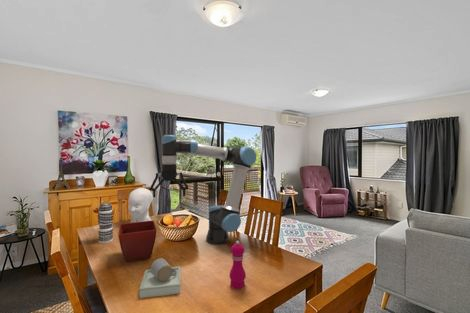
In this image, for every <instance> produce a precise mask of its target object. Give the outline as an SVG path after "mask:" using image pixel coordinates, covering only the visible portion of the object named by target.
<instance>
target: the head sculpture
mask: <svg viewBox="0 0 470 313" xmlns="http://www.w3.org/2000/svg"><path fill="white" fill-rule="evenodd" d="M153 201H154V197H153V191H151V190H149V189H148V188H145V187H138V188H135V189H133V190H132V191H131V192H130V193H129V195H128V213H129V215H130V218H131V220H130V222H129V223H135V222H144V221H153V220H152V218H151V217H150V213H149V209H150V206H151V204H152V203H153Z"/></svg>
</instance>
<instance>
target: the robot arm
mask: <svg viewBox="0 0 470 313" xmlns="http://www.w3.org/2000/svg"><path fill="white" fill-rule="evenodd" d="M161 138H162V139H161V154H162V155H161V164H162V165H161V172H160V173H159V172H156V173H155V178H154V179H153V181H152V183H151V185H150V187H149V189H148V190H150V191H151V192H152V195H153V198H155V199H154V204H155V205H157V204H158V190H157V189H158V188H160V186H161V185H162V184H163V183H164V181H166V182H169V181H170V182H173V181H174V182H175V183H176V184H177V186H179V187H180V189H181V192H180V193H181V203H182V204H183V202H184V197H186V190H189V186H188V183H187V182H186V180H185V178H184V175H183V172H182V171H180V172H178V171H177V154H184V155H185V154H187V155H193V156H198V157H206V158H212V159H220V160H221V161H223V162H228V163H231V164H232V166H233V172H232V176H231V178H230V179H231V180H230V184H229V187H228V191H227V194H226V195H227V196H226V198H225V199H226V200H225V203H224V205H212V206H210V207H209V209H208V230H207V234H206V236H205V237H206V239H205V241H206V242H207V243H208V244H213V245H222V244H225V243H227V242H228V241H229V240H230V239H229V238H230V237H229V233H234V232H235V231H236V230H238V229H239V228H240V226H241V223H242V219H241V216H240V209H239V205H240V202H241V197H242V194H243V190H244V185H245V182H246V177H247V174H248V171H251V167H252V165H254V164H255V163H256V161H257V153H256V151H255V149H254V148H252V147H250V146H232V147H231V146H223V147H219V146H214V145H208V144H203V143H198V141H197V140H196V139H188V138H187V139H185V138H184V139H179V138H177V135H174V134H164V135H162V137H161ZM160 177H162V179H160V181H159V182H158V183H157V180H158V179H159V178H160ZM177 177H179V178H180V180H181V181H182V183H183V184H182V183H181V182H180V181H179V180H178V179H177ZM156 183H157V185H156V186H155V184H156ZM183 185H184V186H185V187H184V186H183Z"/></svg>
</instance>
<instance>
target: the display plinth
mask: <svg viewBox="0 0 470 313" xmlns="http://www.w3.org/2000/svg"><path fill="white" fill-rule="evenodd" d="M171 268H173V269H175V270H176V271H177V274H176V276H171V277H170V278H169V279H168V280H167V281H164V282H161V281H159V280H157V278H156V277H155V276H154V275H153V274H152V273H151V268H150V269H145V271H144V273H143V277H142V280H141V283H140V287H139V299H144V298H151V297H159V296H170V295H177V294H178V295H180V294H181V266H171Z"/></svg>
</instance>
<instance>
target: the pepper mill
mask: <svg viewBox="0 0 470 313" xmlns="http://www.w3.org/2000/svg"><path fill="white" fill-rule="evenodd" d="M230 253H231V259H232V260H233V261H232V266H231V269H230V271H229V279H230V287H231V288H232V289H235V290H240V289H243V288H244V287H245V279H246V270H245V269H244V266H243V259H244V253H245V247H244V245H243V244H241V243H240V241H239V240H236V241H235V243H234V244H233V245H232V246H231V248H230Z"/></svg>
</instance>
